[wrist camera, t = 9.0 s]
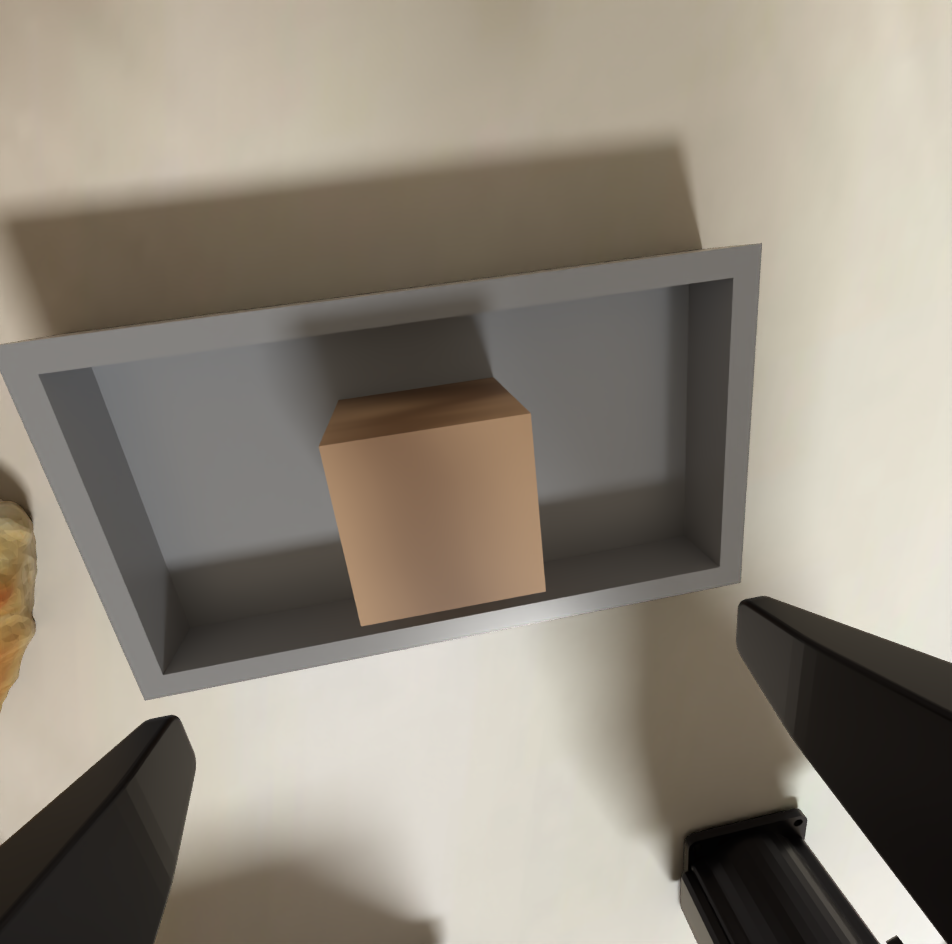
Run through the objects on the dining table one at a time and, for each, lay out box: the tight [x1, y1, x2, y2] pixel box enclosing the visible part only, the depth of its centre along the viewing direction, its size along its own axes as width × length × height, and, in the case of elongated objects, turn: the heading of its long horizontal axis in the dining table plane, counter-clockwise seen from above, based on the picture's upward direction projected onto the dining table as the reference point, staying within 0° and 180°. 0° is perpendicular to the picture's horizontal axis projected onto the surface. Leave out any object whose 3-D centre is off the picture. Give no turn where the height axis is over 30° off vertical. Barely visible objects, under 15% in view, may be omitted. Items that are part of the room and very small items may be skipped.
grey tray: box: [0, 243, 762, 700], centre depth 17 cm, size 20×11×3 cm, turn 97°
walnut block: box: [319, 377, 546, 626], centre depth 16 cm, size 5×5×5 cm
